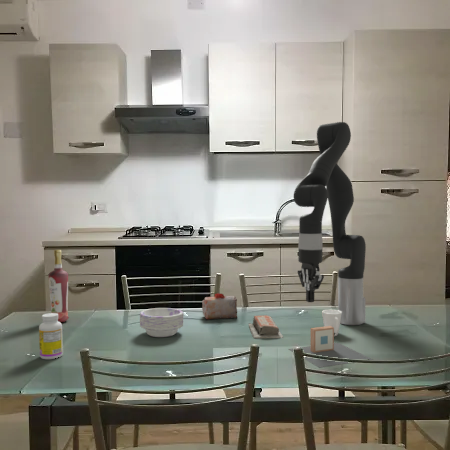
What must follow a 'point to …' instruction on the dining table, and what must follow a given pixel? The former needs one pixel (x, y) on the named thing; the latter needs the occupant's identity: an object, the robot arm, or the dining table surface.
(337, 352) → the mat
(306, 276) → the robot arm
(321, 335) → the tile
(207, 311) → the food item
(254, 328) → the packaged product
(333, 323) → the cup
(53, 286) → the liquor
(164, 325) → the paper bowls
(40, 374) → the dining table surface
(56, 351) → the supplement bottle
